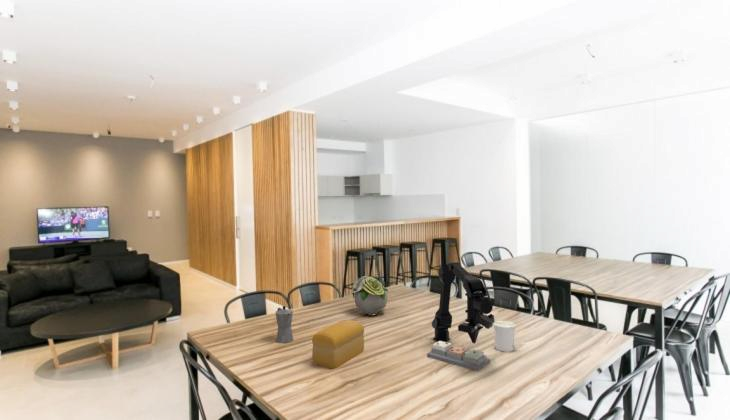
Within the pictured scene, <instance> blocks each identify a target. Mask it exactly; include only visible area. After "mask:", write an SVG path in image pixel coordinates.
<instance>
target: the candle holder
mask: <svg viewBox="0 0 730 420" xmlns="http://www.w3.org/2000/svg"><path fill="white" fill-rule="evenodd" d="M515 329H516V323H514V322H512V321H507V320H497V321H496V320H495V322H494V323H493V330H494V331H493V332H494V333H493V334H494V346H495V349H496V350H497V351H501V352H505V353H507V352H513V351H514V349H515V332H516V330H515Z"/></svg>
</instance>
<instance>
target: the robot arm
mask: <svg viewBox="0 0 730 420" xmlns="http://www.w3.org/2000/svg"><path fill="white" fill-rule="evenodd" d="M437 274H438V278H439V280H440V282H441V283H440V293H439V295H440V296H439V306H438V309H437V311H436V312H435V313H434V314H435V315H434V318H433V320H432V321H431V328H434V337H433V338H432V340H433V339H434V341H437V342H438V341H443V342H446V341H448V340H450V339H451V337H450V331H449V329H451V328H452V322H453V315H452V314H451V312H450V302H451V299H450V298H451V290H452V289H451V288H452V283H454V281H455V280H456V277H457V278H458V279H459V281H461V282H462V285H463V286H462V288H463V289H464V290H465V293H464V295H465V296H466V309H465V310H464V311H465V313H466V314H467V315H466V317H467V318H465V321H464V322H462V323H459V324H458V325H457V331H458V332H462V333H467V335H468V336H469V338H470V340H471V342H472V344H476V343H477V340H478V337H479V332H480V331H481V330H482V329H483V328H485V329H488V330H489V329H490V328H493V326H494V322H496V319H495V315H494V314H493V313H491V312H492V311H493V308H494V306H493V303H492V301H491V300H489V297H488V292H487V289H486V288H485V285H484V283H483V281H482V280H481V279H480V278H479V277H478V276H473V275H471V274H470V273H469V272H468V271H467V270H466V269H465V268H464V267H463V266H462V265H461V263H460V262H458V261H457V262H456V261H451V262H449V263H447V264H445V265H443V266H440V267H438V271H437Z"/></svg>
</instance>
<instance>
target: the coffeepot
mask: <svg viewBox="0 0 730 420" xmlns="http://www.w3.org/2000/svg"><path fill="white" fill-rule="evenodd" d="M293 313H294V312H293V309H288V308H287V309H286V306H285V305H283V306H282V308H281V307H278V308H277V310H276V311H275V318H276V324H277V331H276V340H275V341H276V343H278V344H287V343H291V342H292V341H294V335H293V330H292V321H293Z"/></svg>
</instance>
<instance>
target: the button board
mask: <svg viewBox="0 0 730 420" xmlns="http://www.w3.org/2000/svg"><path fill="white" fill-rule="evenodd" d="M452 348H454V346H451V348H450V349H452ZM450 349H448V350H447V351H442V350H438V349H434V348H433V346H432V347H431V348H430V351H429V352H427V353H426V357H427V356H428V357H427V358H430V357H431V359H434V360H438V361H441V362H445V363H448V364H452V365H455V366H458V367H461V368H466V369H469V370H471V371H476V372H479V371H480V370H482V369H483V368H485V367H486V366H487V365H488V364H490V363H491V359H490V358H488V357H487V355H485V354H484V357H482V358H481V359H479V360H475V359H471V358H468V357H465V354H463V355H461V356H460V355H456V354H453V353H449V350H450Z"/></svg>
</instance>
